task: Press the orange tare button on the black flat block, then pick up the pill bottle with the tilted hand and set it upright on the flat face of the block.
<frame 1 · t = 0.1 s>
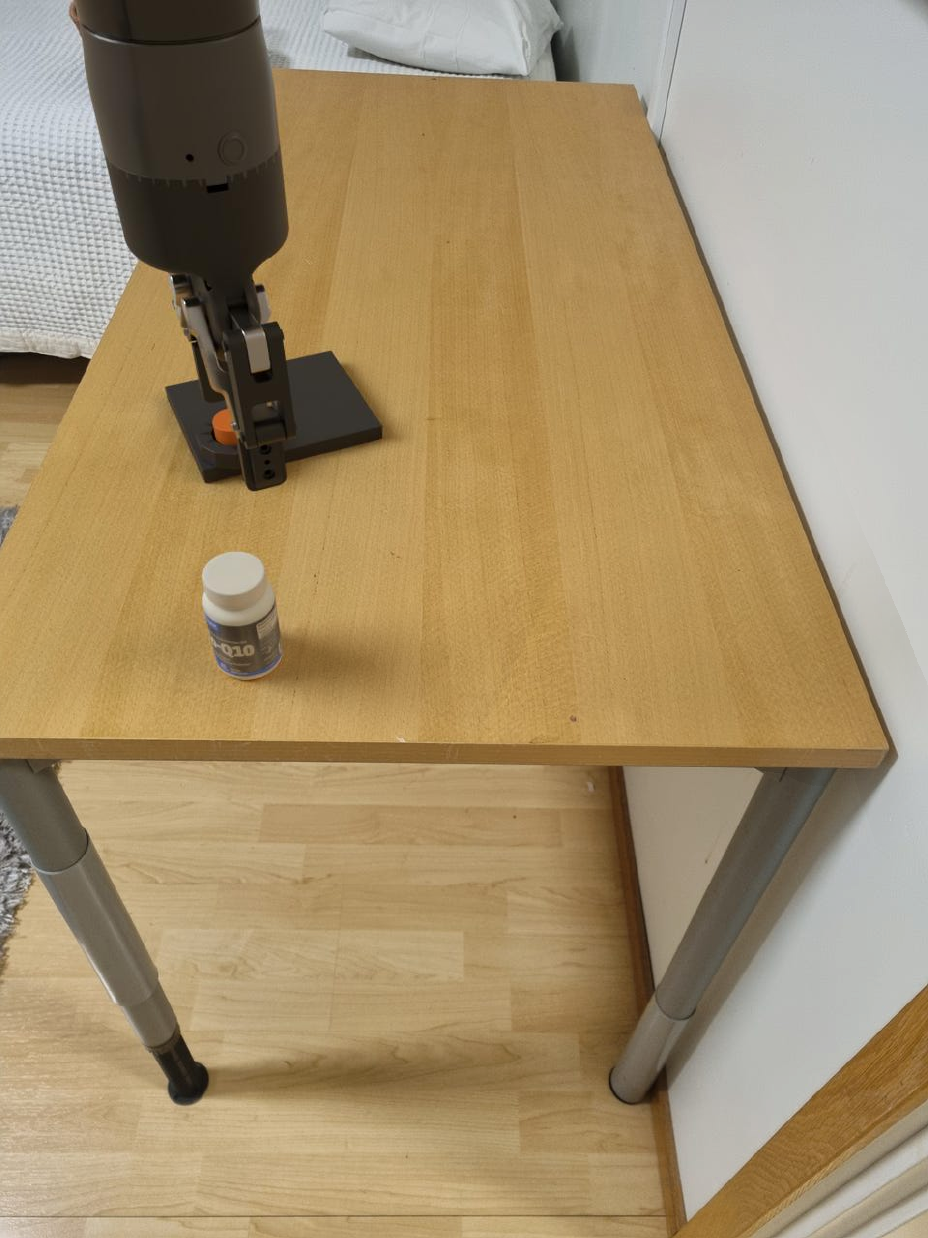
hand: (243, 439, 52), 19 cm above the table, tool pointing down, fingers open, 8 cm apart
pill bottle: (250, 657, 66), on the table
black flat block: (273, 418, 84), on the table
tare button: (233, 427, 78), point 3 cm above the table, slide at 0.1 cm
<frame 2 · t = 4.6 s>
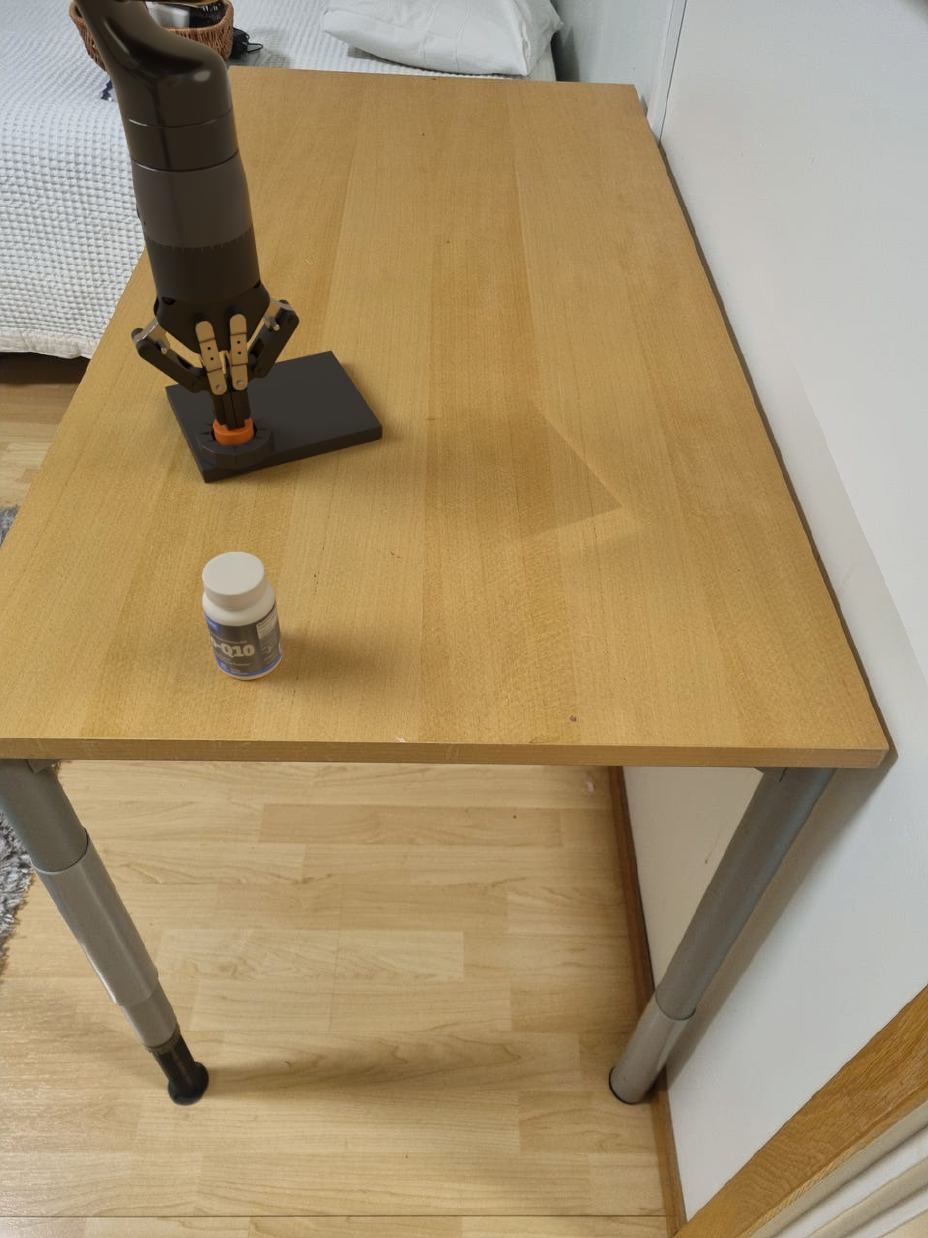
hand: (233, 422, 77), 4 cm above the table, tool pointing down, fingers closed
tare button: (234, 430, 78), point 3 cm above the table, slide at -0.3 cm, touching gripper
everything else where it was.
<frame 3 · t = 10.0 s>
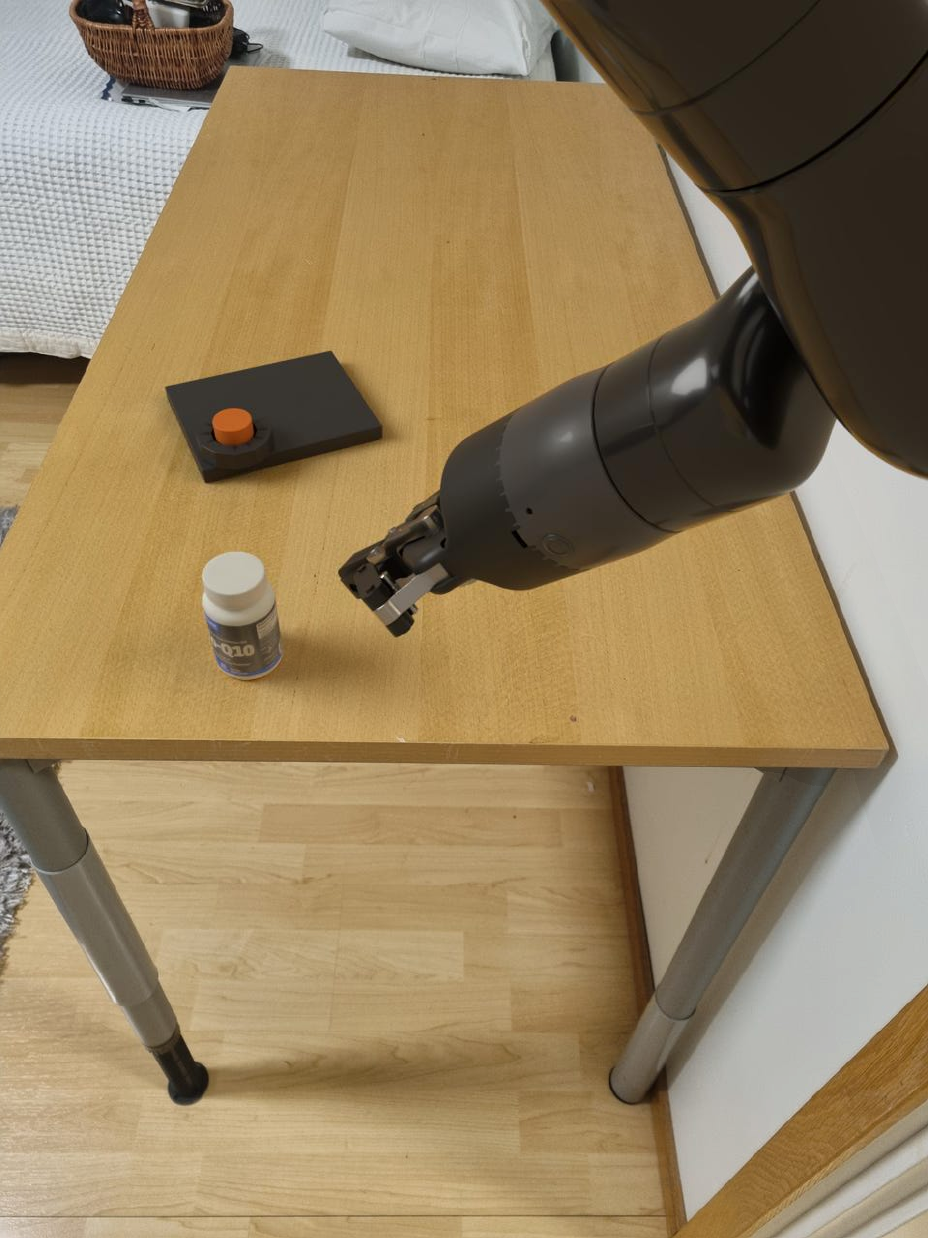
hand: (354, 578, 52), 14 cm above the table, tool tilted 45°, fingers closed
tare button: (233, 427, 78), point 3 cm above the table, slide at 0.1 cm
everything else where it was.
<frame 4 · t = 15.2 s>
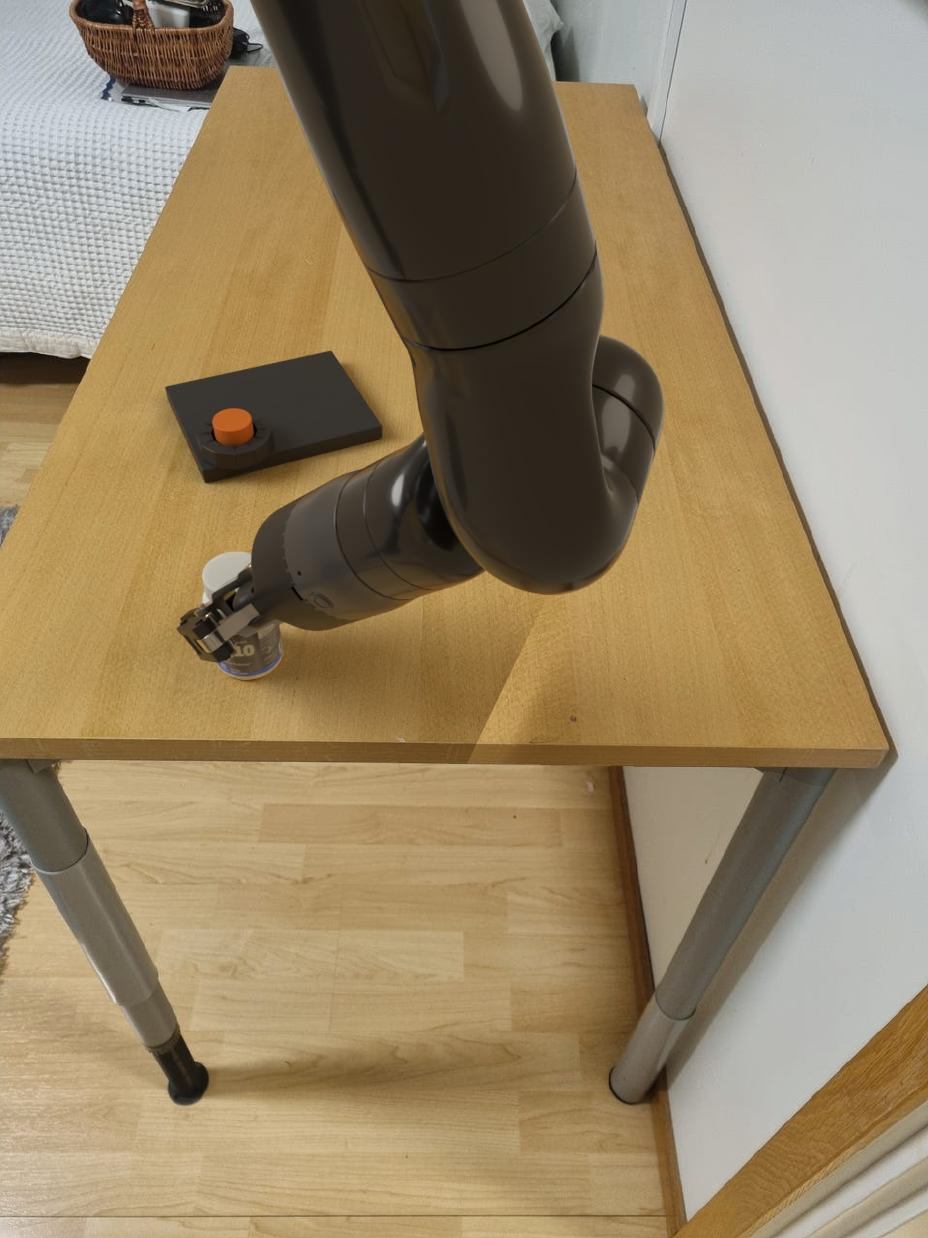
hand: (221, 604, 63), 4 cm above the table, tool tilted 45°, fingers closed on pill bottle, 4 cm apart
pill bottle: (250, 657, 66), on the table, touching gripper
everything else where it was.
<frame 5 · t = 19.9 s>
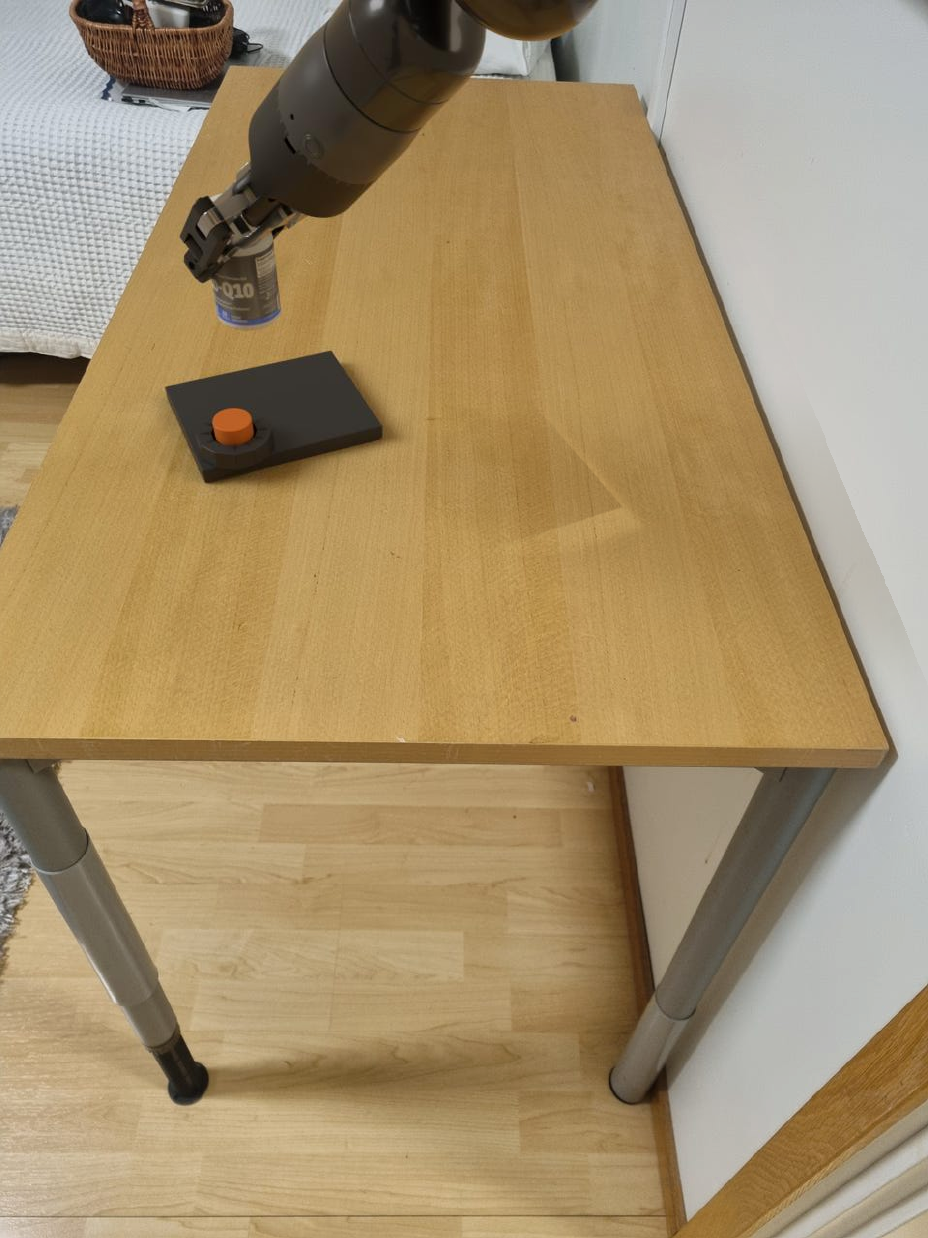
hand: (222, 255, 67), 18 cm above the table, tool tilted 45°, fingers closed on pill bottle, 4 cm apart
pill bottle: (250, 318, 70), point 14 cm above the table, touching gripper
everything else where it was.
when the fingers open (6 cm above the table, at t = 24.7 s): pill bottle stays where it is, resting on black flat block.
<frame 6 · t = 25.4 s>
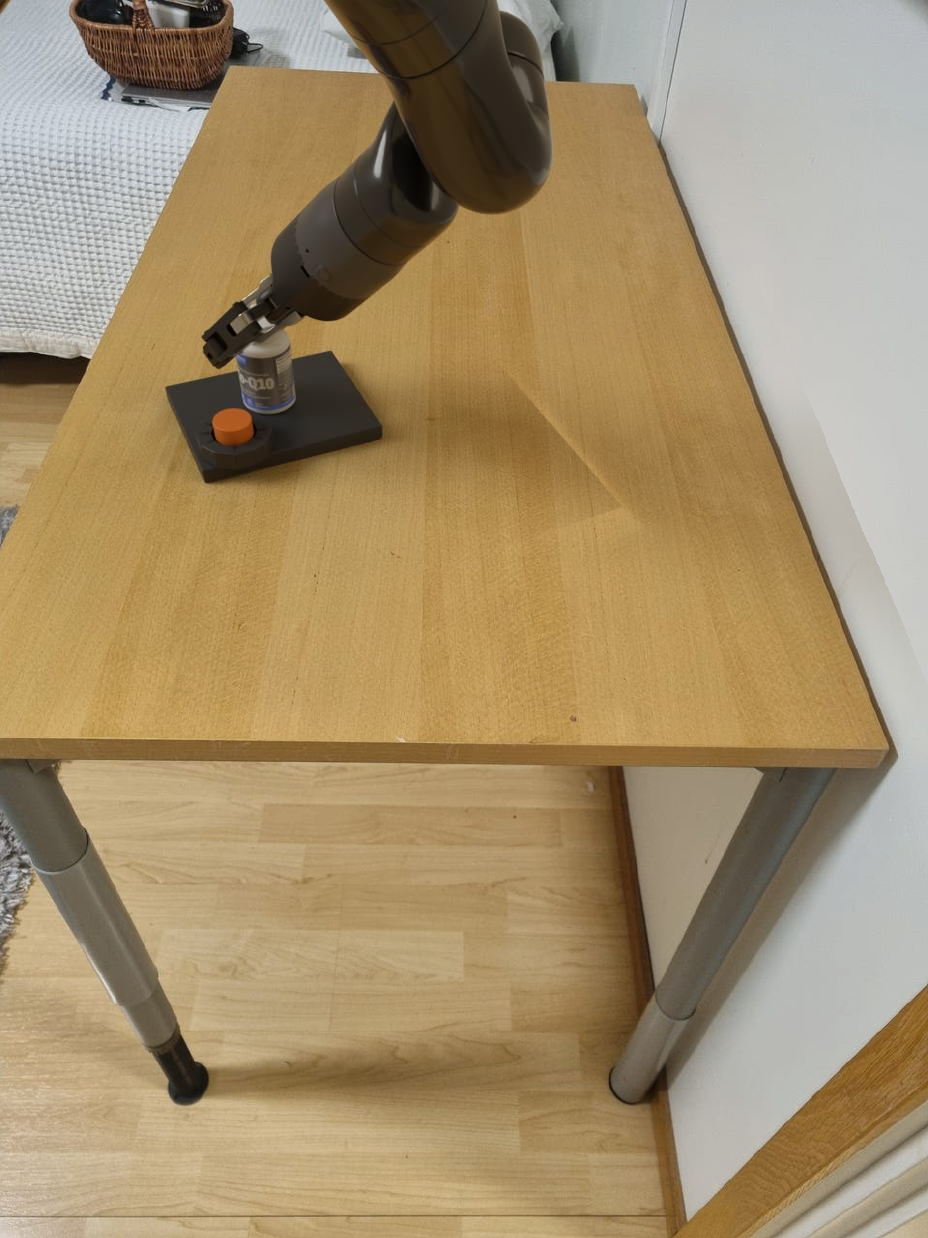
hand: (248, 335, 80), 7 cm above the table, tool tilted 45°, fingers open, 8 cm apart
pill bottle: (270, 402, 84), point 1 cm above the table, touching black flat block
everything else where it was.
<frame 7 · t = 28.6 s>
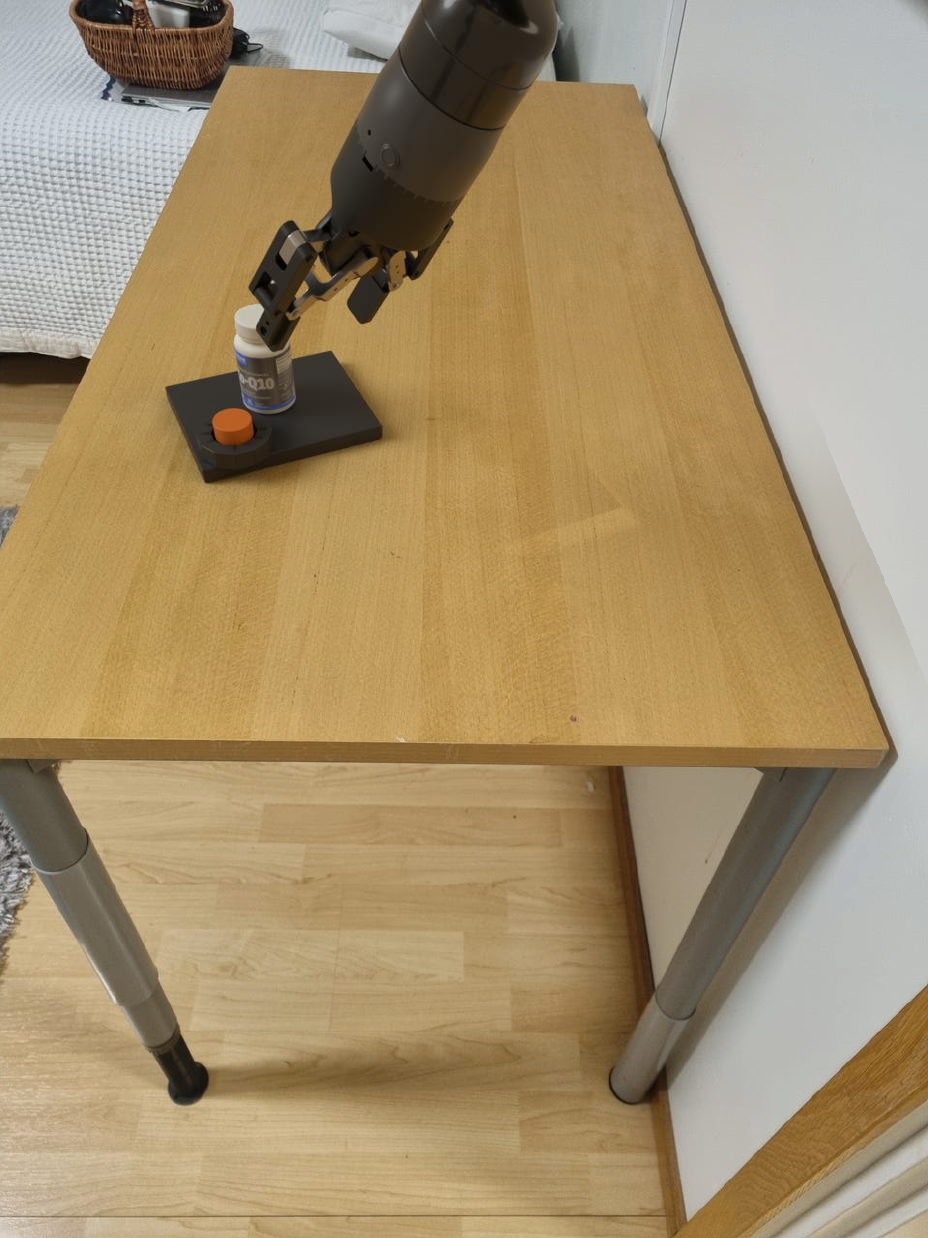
hand: (314, 327, 67), 15 cm above the table, tool tilted 30°, fingers open, 8 cm apart
nothing on the table moved.
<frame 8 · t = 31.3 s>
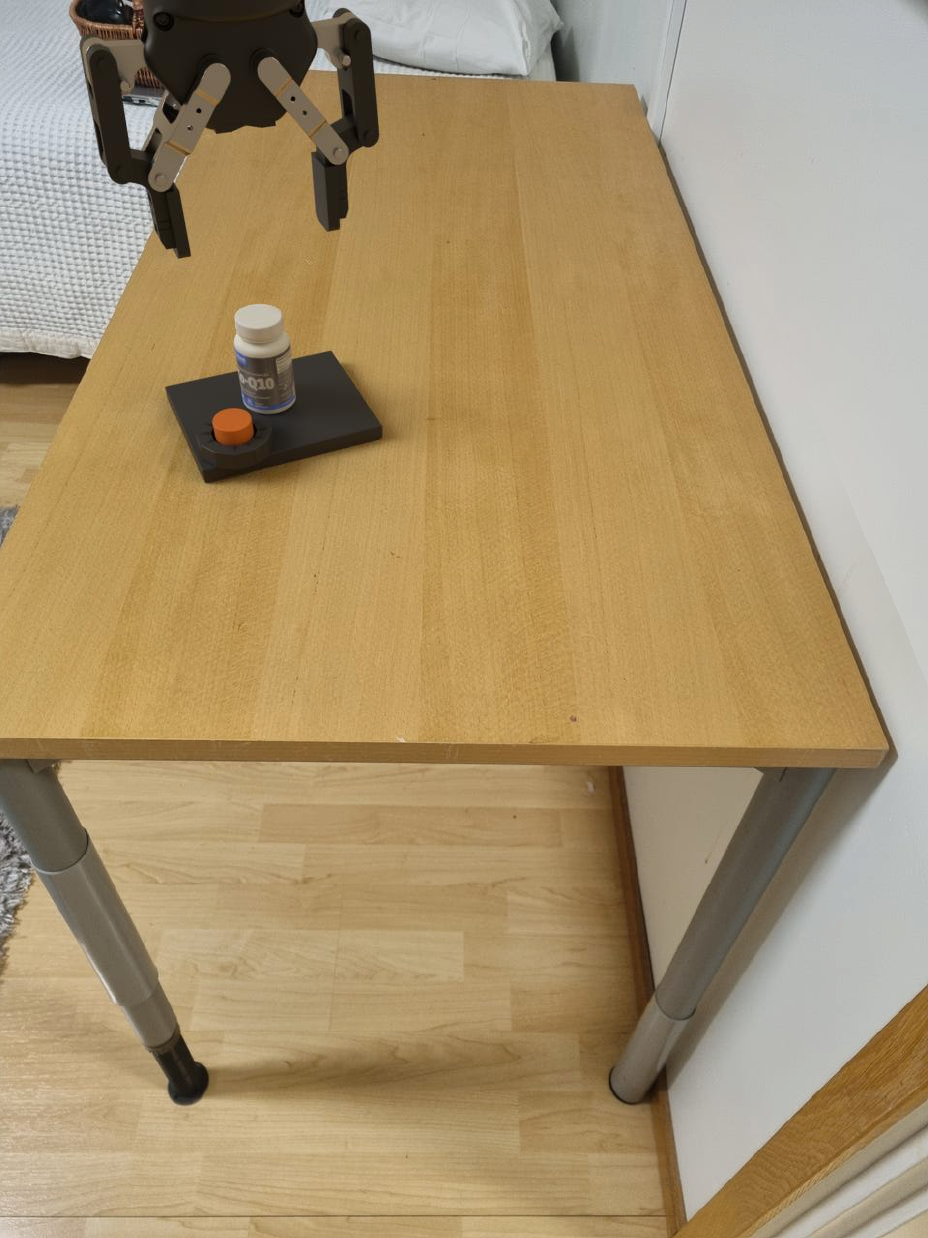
hand: (256, 238, 52), 26 cm above the table, tool pointing down, fingers open, 8 cm apart
nothing on the table moved.
at the end: tare button pushed in 0.9 cm at the most during the clip, back to where it started at the end; pill bottle inside the target area on the black flat block (0.8 cm from its centre), point 1.2 cm above the black flat block's base; pill bottle touching black flat block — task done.
